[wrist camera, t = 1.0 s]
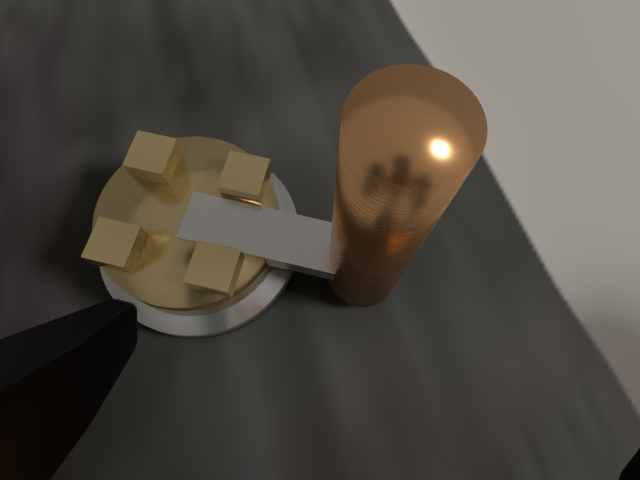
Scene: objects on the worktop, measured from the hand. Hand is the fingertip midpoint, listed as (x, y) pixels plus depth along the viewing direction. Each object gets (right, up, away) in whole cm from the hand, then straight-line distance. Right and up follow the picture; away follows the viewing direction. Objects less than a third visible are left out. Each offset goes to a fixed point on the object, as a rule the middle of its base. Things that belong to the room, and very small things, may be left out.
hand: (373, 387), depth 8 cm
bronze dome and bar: (-4, +2, +14) cm, 14 cm away
